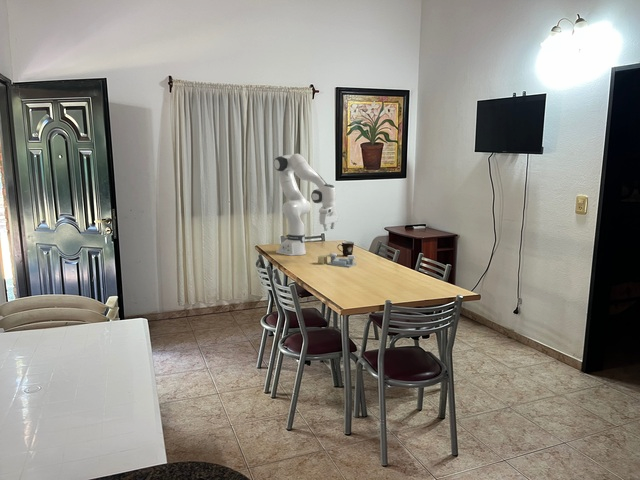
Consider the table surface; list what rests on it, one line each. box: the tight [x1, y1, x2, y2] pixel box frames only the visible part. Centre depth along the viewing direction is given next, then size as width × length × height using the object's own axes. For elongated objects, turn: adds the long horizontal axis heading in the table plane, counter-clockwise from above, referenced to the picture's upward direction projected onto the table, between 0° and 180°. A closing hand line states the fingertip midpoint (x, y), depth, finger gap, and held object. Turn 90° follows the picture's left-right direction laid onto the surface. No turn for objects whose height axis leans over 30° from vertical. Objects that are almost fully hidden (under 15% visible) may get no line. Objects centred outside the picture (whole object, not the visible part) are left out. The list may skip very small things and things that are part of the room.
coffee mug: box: [336, 240, 355, 258], centre depth 357 cm, size 12×9×10 cm
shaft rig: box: [326, 252, 357, 268], centre depth 330 cm, size 18×11×7 cm, turn 61°
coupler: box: [317, 255, 328, 265], centre depth 332 cm, size 4×4×5 cm
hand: (328, 229), depth 331 cm, fingers open, 8 cm apart
